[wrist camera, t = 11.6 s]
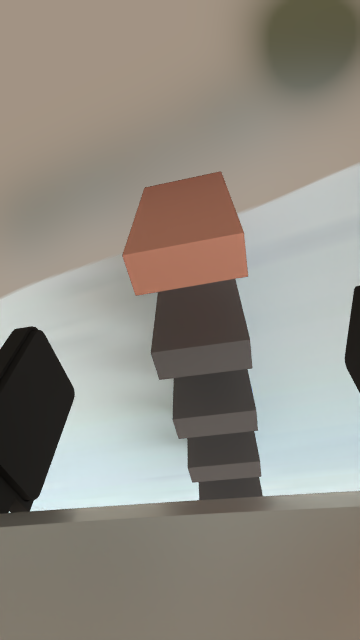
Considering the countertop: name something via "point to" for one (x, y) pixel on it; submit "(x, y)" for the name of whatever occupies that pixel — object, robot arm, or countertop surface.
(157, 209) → the domino
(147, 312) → the countertop surface
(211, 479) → the domino
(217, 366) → the domino
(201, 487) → the domino
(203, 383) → the domino
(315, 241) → the countertop surface
